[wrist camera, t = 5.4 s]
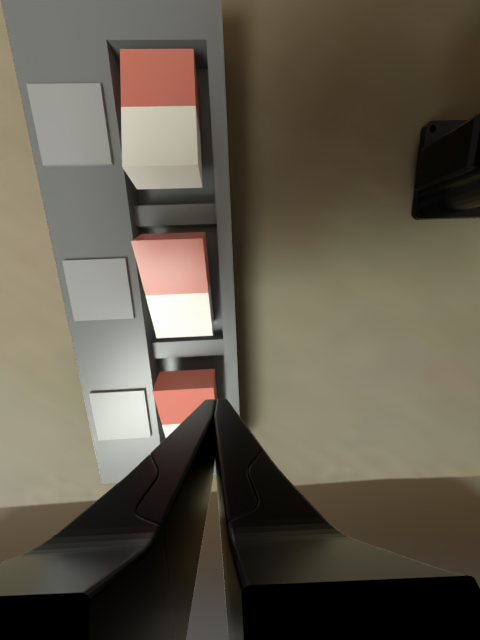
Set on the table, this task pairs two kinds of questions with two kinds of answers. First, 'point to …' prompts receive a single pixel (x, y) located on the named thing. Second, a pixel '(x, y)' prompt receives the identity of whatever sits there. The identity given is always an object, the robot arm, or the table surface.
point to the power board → (123, 203)
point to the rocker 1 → (160, 118)
